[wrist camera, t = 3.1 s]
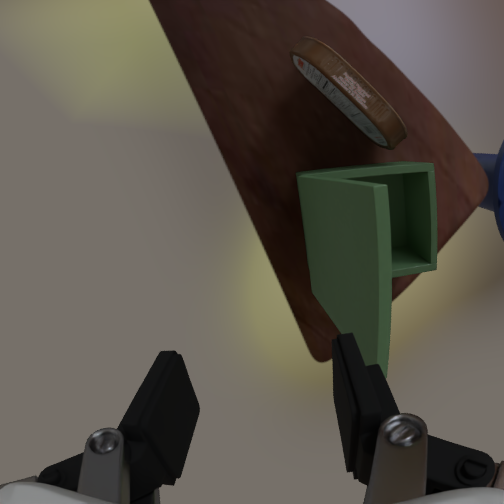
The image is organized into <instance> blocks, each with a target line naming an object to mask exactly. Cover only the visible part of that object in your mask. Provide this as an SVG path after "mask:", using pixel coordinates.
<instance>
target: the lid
mask: <svg viewBox="0 0 504 504" xmlns="http://www.w3.org/2000/svg"><path fill="white" fill-rule="evenodd" d="M298 183H299V190H300V197H301V204H302V211H303V219H304V227H305V235H306V243H307V251H308V260H309V269H310V279H311V288H312V293H313V295H314V296H315V297H316V299H317V300H318V301H319V303H320V304H321V306H322V307H323V308H324V310H325V311H326V313H327V314H328V315H329V317H330V318H331V320H332V321H333V322H334V324H335V325H336V327H337V328H338V329H339V331H340V332H341V334H345V333H351V332H352V333H353V335H354V337H355V340H356V342H357V345H358V347H359V350H360V352H361V355H362V357H363V360H364V363H365V365H366V366H368V365H373V364H379V365H380V367H381V369H382V372H383V374H384V376H385V379H386V378H387V369H388V359H389V345H390V329H391V328H390V327H391V303H392V256H391V229H390V213H389V199H388V188H387V185H385V184H378V183H370V182H363V181H355V180H346V179H337V178H328V177H318V176H308V175H304V176H298Z"/></svg>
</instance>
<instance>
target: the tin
mask: <svg viewBox="0 0 504 504" xmlns="http://www.w3.org/2000/svg"><path fill="white" fill-rule="evenodd" d="M290 57H291V61H292V63H293V64H294V66H295V67H296V68H297V69H298V70H299V72H300V73H301V74H302V75H303V76H304V77H305V78H306V79H307V80H308V81H309V82H310V83H311V84H312V85H314V86H315V87H316V88H317V89H318V90H319V91H320V92H321V93H322V94H323V95H324V96H325V97H326V98H327V99H328V100H329V101H330V102H331V103H332V104H334V105H335V106H336V107H337V108H338V109H339V110H340V111H341V112H342V113H343V114H344V115H345V116H346V117H347V118H348V119H349V120H350V121H351V122H352V123H353V124H354V125H355V126H356V127H357V128H358V129H359V130H360V131H361V132H362V133H363V134H364V135H365V136H367V137H368V138H369V139H370V140H371V141H372V142H374V143H375V144H376V145H378V146H380V147H382V148H385V149H388V150H392V149H394V148H395V147H396V146H397V145H398V144H399V143H400V142H401V141H402V140H403V139H405V138H406V137H407V129H406V127H405V125H404V123H403V121H402V120H401V118H400V117H399V115H398V114H397V113H396V111H395V110H394V109H393V108H392V107H391V106H390V104H389V103H388V102H387V101H386V100H385V99H384V98H383V97H382V96H381V95H380V94H379V93H378V92H377V91H376V90H375V89H374V88H373V87H372V86H371V85H370V84H369V83H368V82H367V81H366V80H365V79H364V78H363V77H362V76H361V75H360V74H359V73H358V72H357V71H356V70H355V69H354V68H353V67H352V66H351V65H350V64H349V63H348V62H346V61H345V60H344V59H343V58H342V57H341V56H340V55H339V54H338V53H336V52H335V51H334V50H333V49H332V48H330V47H329V46H327V45H326V44H324V43H323V42H321V41H319V40H317V39H315V38H313V37H309V36H305V37H303V38H302V39H301V41H300V42H299V43H297V44H296V45H295V46H294V47H293V48H292V49H291V50H290Z"/></svg>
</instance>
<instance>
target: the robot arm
mask: <svg viewBox="0 0 504 504" xmlns="http://www.w3.org/2000/svg"><path fill="white" fill-rule="evenodd" d="M332 361H333V396H334V404H335V408H336V414H337V419H338V425H339V430H340V436H341V441H342V446H343V452H344V458H345V464H346V470H347V472H353V476H354V479H358V480H359V482H361V483H363V484H365V485H367V489H366V494H365V498H364V502H363V504H504V461H501V463H500V464H499V463H494V461H493V459H492V458H491V457H490V456H489V455H488V454H486V453H484V452H482V451H479V450H475V449H471V448H468V447H464V446H461V445H458V444H455V443H452V442H449V441H446V440H443V439H440V438H437V437H434V436H430V435H428V434H427V433H428V430H427V426H426V424H425V422H424V421H423V420H422V419H421V418H420V417H418V416H416V415H413V414H408V413H401V414H400V412H399V410H398V407H397V405H396V403H395V400H394V398H393V395H392V393H391V390H390V388H389V386H388V383H387V381H386V379H385V376H384V374H383V372H382V369H381V367H380V365H379V364H373V365H368V366H366V365H365V363H364V360H363V357H362V355H361V352H360V350H359V347H358V345H357V342H356V340H355V337H354V335H353V333H352V332H351V333H345V334H339V335H337V339H333V340H332ZM199 412H200V407H199V403H198V400H197V397H196V395H195V392H194V389H193V387H192V384H191V381H190V378H189V375H188V372H187V369H186V366H185V363H184V360H183V358H182V356H181V354H177V352H176V351H161V352H160V353H159V355H158V356H157V358H156V360H155V361H154V363H153V365H152V367H151V368H150V370H149V372H148V374H147V376H146V377H145V379H144V381H143V383H142V385H141V386H140V388H139V390H138V392H137V393H136V395H135V397H134V399H133V400H132V402H131V404H130V406H129V408H128V410H127V412H126V413H125V415H124V417H123V419H122V421H121V422H120V424H119V426H118V428H117V429H114V428H103V429H100V430H97V431H95V432H94V433H93V434H91V435H90V437H89V438H88V439H87V442H86V445H85V450H84V452H83V453H81V454H78V455H76V456H73V457H71V458H69V459H66V460H64V461H61V462H59V463H56V464H54V465H51V466H49V467H47V468H45V469H44V470H43V471H42V472H41V473H40V475H39V477H37V476H32V477H29V478H25V479H21V480H17V481H14V482H9V483H6V484H2V485H0V504H160V497H159V496H160V495H159V487H161V486H162V484H165V485H173V486H174V484H175V481H176V478H180V477H181V474H182V471H183V467H184V464H185V460H186V457H187V453H188V450H189V447H190V443H191V440H192V437H193V433H194V430H195V426H196V422H197V419H198V416H199Z"/></svg>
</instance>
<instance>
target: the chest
mask: <svg viewBox="0 0 504 504" xmlns="http://www.w3.org/2000/svg"><path fill="white" fill-rule="evenodd" d="M304 175H308V176H318V177H328V178H337V179H346V180H355V181H363V182H370V183H378V184H385V185H387V188H388V199H389V213H390V229H391V256H392V278H393V277H399V276H405V275H411V274H416V273H422V272H427V271H432V270H436V268H437V204H436V187H435V174H434V164H433V163H423V162H406V161H402V162H389V163H377V164H365V165H355V166H345V167H336V168H327V169H318V170H310V171H302V172H296V178H297V184H298V191H299V198H300V206H301V213H302V220H303V228H304V236H305V244H306V253H307V261H308V266H309V260H308V251H307V243H306V235H305V227H304V219H303V211H302V204H301V197H300V190H299V183H298V176H304ZM309 270H310V269H309Z"/></svg>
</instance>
